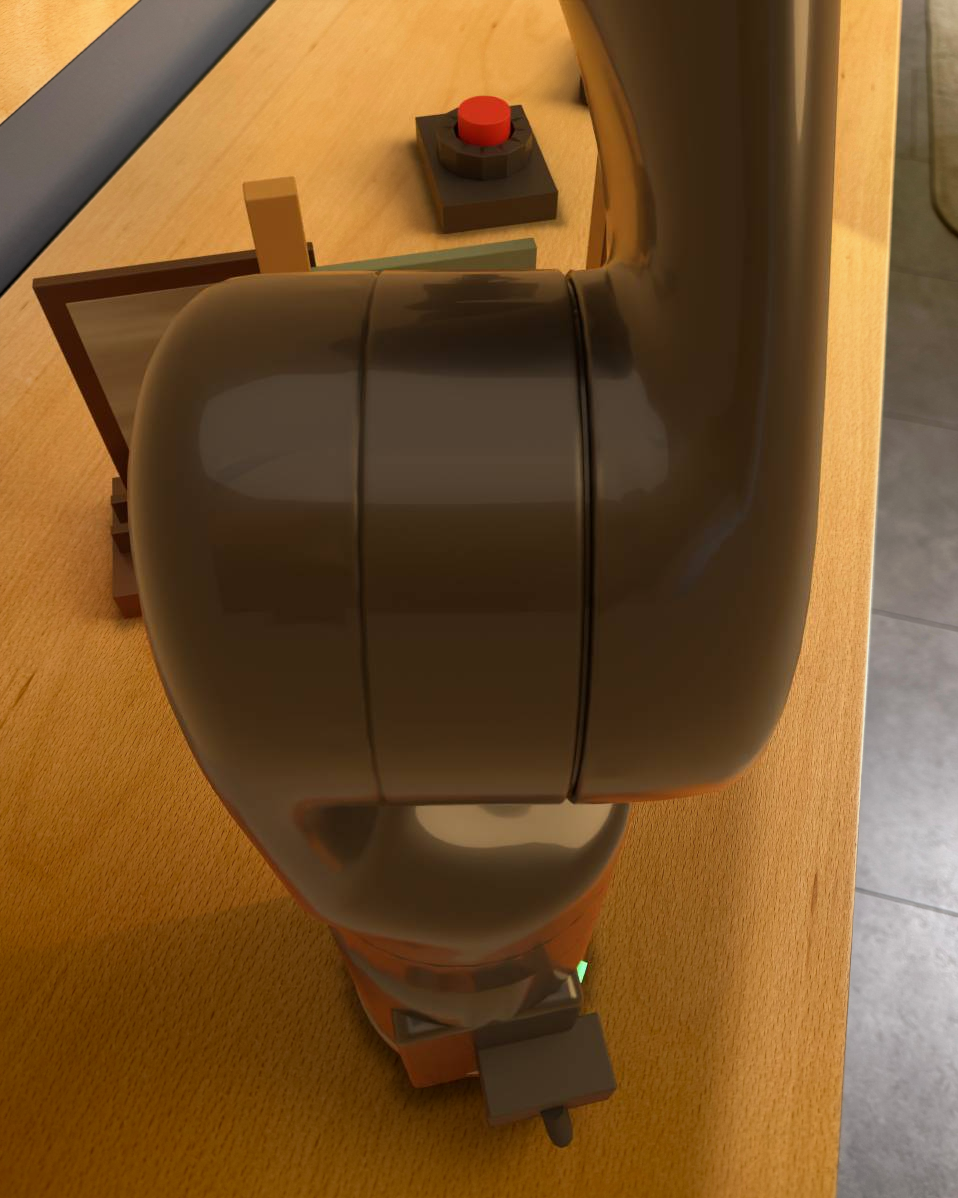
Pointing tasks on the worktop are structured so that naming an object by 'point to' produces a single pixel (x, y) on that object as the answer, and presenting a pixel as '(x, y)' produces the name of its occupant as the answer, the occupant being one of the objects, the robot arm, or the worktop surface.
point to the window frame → (130, 335)
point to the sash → (287, 251)
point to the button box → (485, 175)
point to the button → (484, 121)
